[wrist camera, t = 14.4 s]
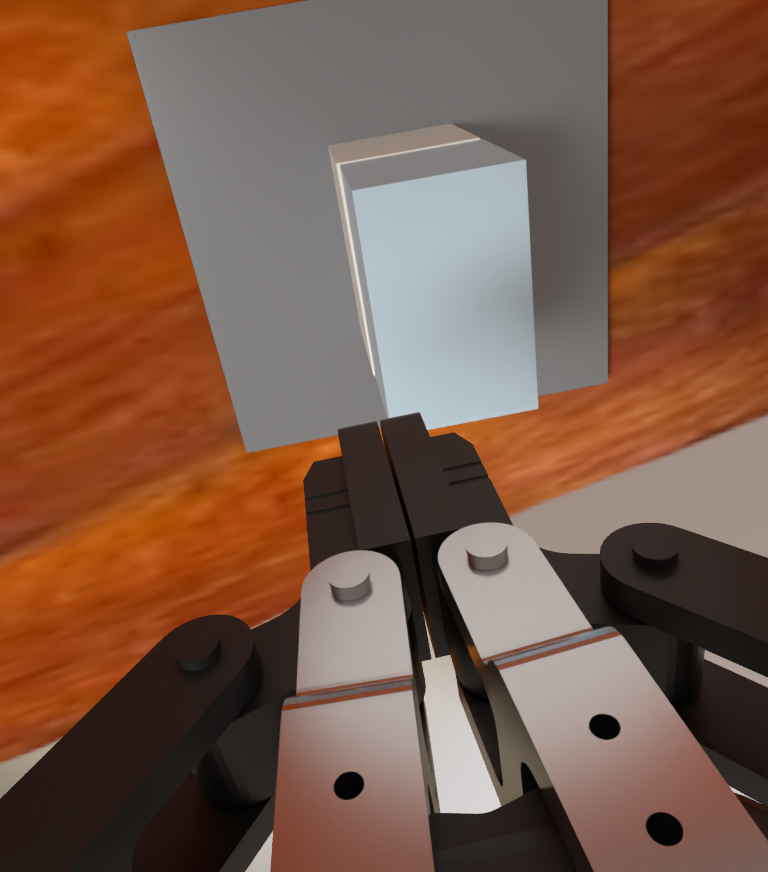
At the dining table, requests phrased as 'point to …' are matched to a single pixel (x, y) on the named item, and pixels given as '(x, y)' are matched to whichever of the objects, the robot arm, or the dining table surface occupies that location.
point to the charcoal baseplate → (315, 188)
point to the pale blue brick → (446, 280)
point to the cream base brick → (376, 149)
